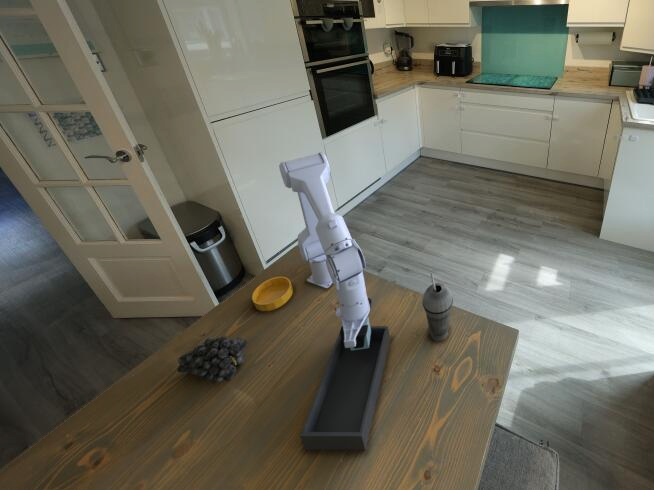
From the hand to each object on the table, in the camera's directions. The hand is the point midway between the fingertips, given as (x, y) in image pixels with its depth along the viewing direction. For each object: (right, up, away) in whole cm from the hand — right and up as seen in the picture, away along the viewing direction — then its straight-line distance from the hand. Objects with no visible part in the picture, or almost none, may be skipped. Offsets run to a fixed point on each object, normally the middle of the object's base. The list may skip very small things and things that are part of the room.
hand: (360, 336), depth 72 cm
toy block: (0, -1, +1) cm, 1 cm away
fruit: (-33, -7, -1) cm, 33 cm away
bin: (0, -8, -4) cm, 9 cm away
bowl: (-30, +1, +16) cm, 34 cm away
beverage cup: (+18, -3, +7) cm, 19 cm away
